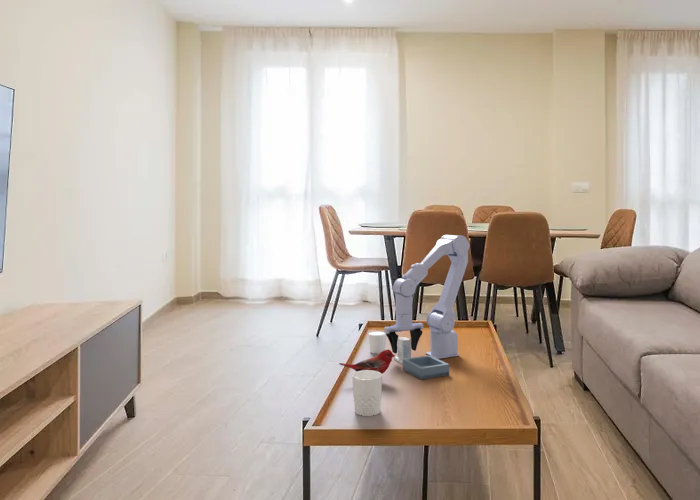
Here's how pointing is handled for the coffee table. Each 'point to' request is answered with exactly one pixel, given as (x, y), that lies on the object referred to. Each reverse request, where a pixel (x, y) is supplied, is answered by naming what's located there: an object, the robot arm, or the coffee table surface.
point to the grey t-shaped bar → (403, 349)
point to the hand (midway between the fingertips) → (404, 351)
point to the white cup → (367, 392)
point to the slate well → (425, 367)
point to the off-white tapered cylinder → (377, 341)
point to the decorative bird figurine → (374, 363)
